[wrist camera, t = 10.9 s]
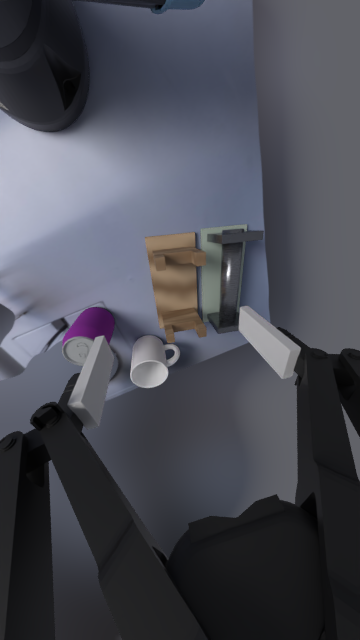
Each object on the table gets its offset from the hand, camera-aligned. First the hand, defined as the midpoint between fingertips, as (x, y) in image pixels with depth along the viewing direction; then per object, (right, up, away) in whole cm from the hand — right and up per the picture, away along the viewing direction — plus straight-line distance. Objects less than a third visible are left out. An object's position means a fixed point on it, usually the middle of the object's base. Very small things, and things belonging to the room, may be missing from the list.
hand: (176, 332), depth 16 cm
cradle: (-1, +9, +23) cm, 25 cm away
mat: (+10, +11, +24) cm, 29 cm away
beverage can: (-19, +1, +24) cm, 30 cm away
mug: (-6, -6, +30) cm, 31 cm away
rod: (+11, +11, +24) cm, 28 cm away
